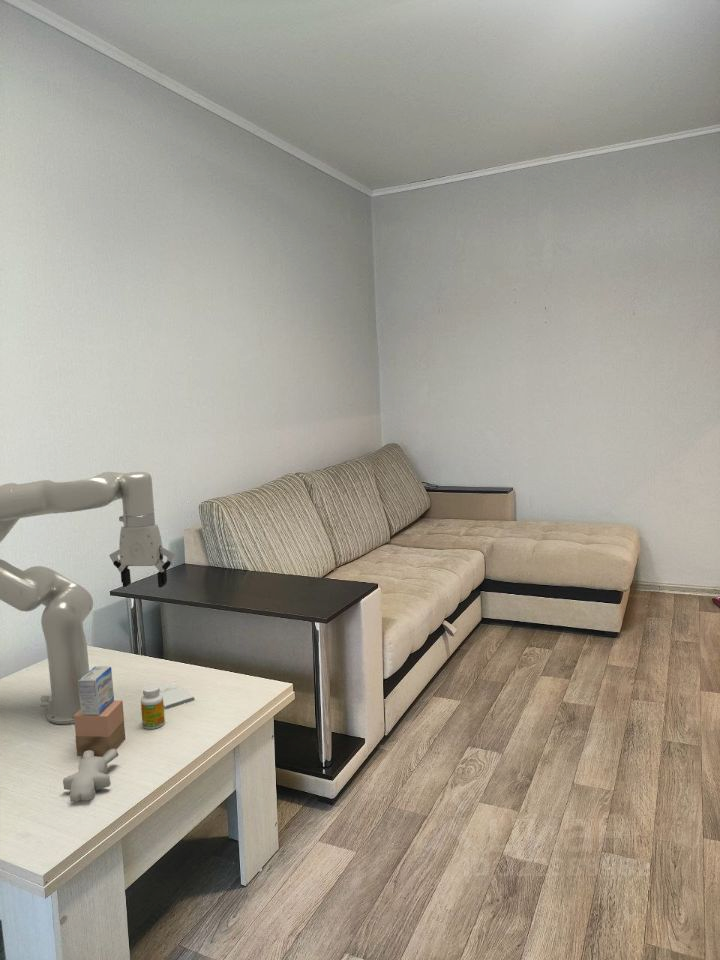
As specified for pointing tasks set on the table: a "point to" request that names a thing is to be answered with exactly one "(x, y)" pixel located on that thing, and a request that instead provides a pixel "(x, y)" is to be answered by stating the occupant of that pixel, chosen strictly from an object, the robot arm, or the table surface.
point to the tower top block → (100, 721)
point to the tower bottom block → (100, 742)
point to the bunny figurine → (89, 776)
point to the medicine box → (96, 690)
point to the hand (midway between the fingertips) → (144, 585)
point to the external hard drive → (174, 695)
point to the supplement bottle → (152, 707)
